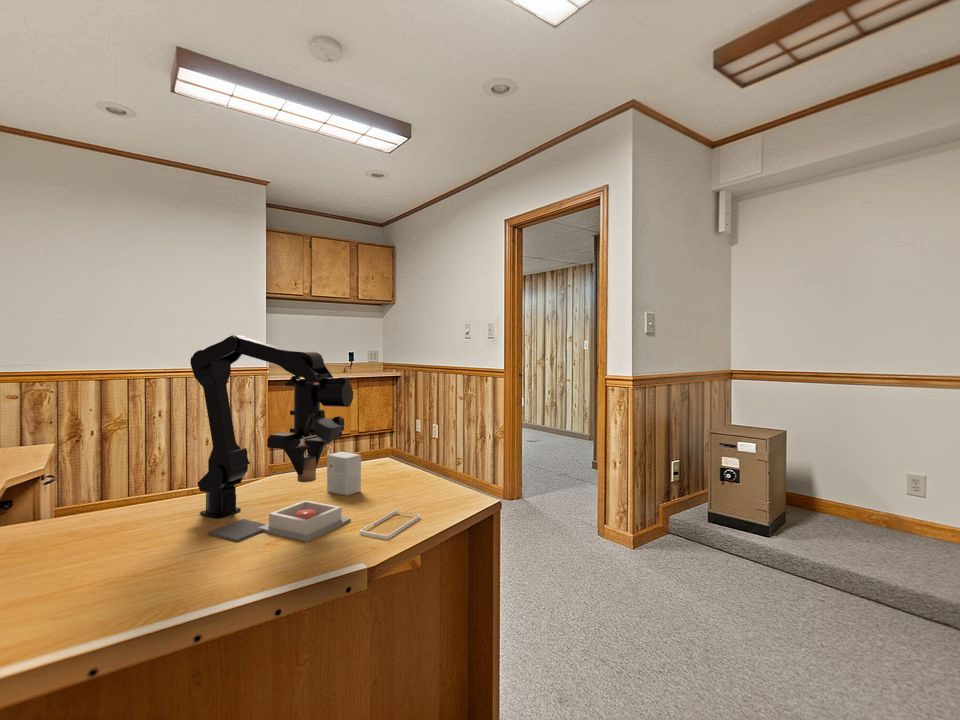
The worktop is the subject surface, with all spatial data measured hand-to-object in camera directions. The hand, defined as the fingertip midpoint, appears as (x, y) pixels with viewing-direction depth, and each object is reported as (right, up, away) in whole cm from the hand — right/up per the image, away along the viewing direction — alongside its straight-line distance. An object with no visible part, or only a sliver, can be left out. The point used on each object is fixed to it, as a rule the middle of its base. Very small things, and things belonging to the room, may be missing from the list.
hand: (306, 472), depth 113 cm
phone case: (+20, -13, -2) cm, 24 cm away
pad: (-12, -11, -7) cm, 18 cm away
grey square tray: (+1, -11, -3) cm, 12 cm away
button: (+1, -10, -3) cm, 10 cm away
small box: (+2, -11, +24) cm, 27 cm away
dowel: (0, -2, 0) cm, 2 cm away
